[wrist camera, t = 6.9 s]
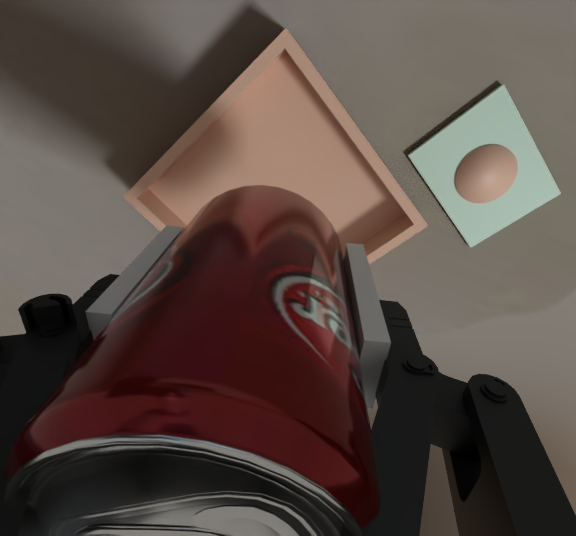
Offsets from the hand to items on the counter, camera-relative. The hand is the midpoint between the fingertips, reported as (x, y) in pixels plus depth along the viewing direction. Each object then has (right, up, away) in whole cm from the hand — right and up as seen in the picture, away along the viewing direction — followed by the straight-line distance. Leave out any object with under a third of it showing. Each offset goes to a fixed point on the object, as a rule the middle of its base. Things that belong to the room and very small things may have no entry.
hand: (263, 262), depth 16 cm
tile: (+13, +6, +6) cm, 16 cm away
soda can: (0, 0, +1) cm, 1 cm away
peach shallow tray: (0, +4, +8) cm, 9 cm away
